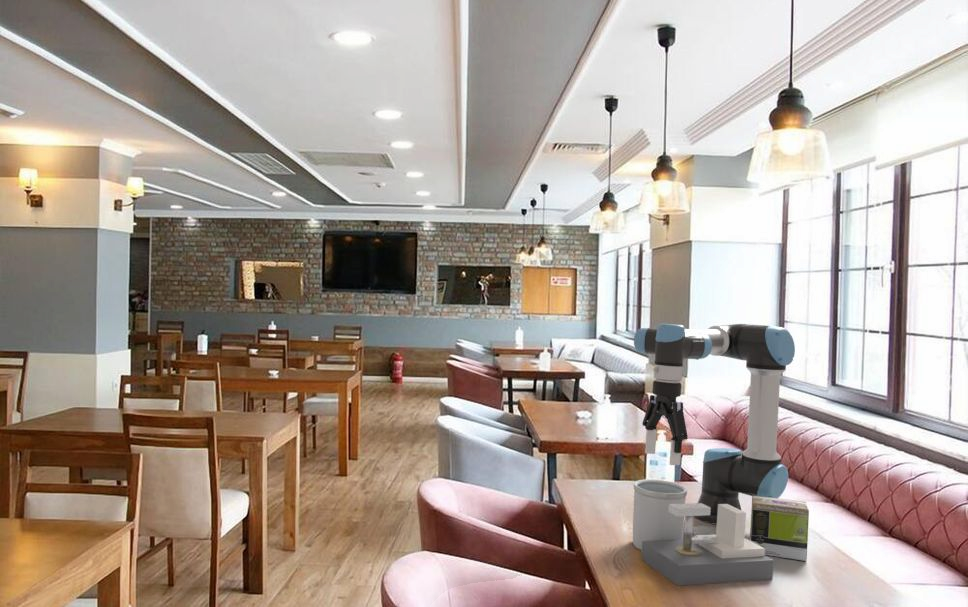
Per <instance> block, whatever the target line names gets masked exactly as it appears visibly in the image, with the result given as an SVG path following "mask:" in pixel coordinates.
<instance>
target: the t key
mask: <svg viewBox="0 0 968 607" xmlns="http://www.w3.org/2000/svg"><path fill="white" fill-rule="evenodd" d="M710 511H711V508H710V507H708V506H706V505H704V504H702V503H698V502H697V503H685V504H669V511H668V512H670V513H672V514H673V515H675V516H684V526H683V537H682V539H683V550H685V551H691V547H692V544H707V543H718V539H717V538H715V537H713V536H706V537H696V536H693V533H694V532H693V529H694V517H695V516H703V515H710Z"/></svg>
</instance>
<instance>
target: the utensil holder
mask: <svg viewBox="0 0 968 607" xmlns="http://www.w3.org/2000/svg"><path fill="white" fill-rule="evenodd" d="M633 489H634V493H633V494H634V495H633V516H632V517H633V518H632V543H633V544H632V545H633V546H634V547H635V548H637V549H638V550H640V551H642V541H656V540H678V539H683V535H684V520H685V516H675V515H673V514H672V513H670V512H668V511H669V504H686V500H687V499H686V498H687V495H688V488H687V487H686V486H684V485H683V484H681V483H677V482H674V481H669V480H663V479H652V478H650V479H645V478H644V479H638V480H636V481H634V483H633Z"/></svg>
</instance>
